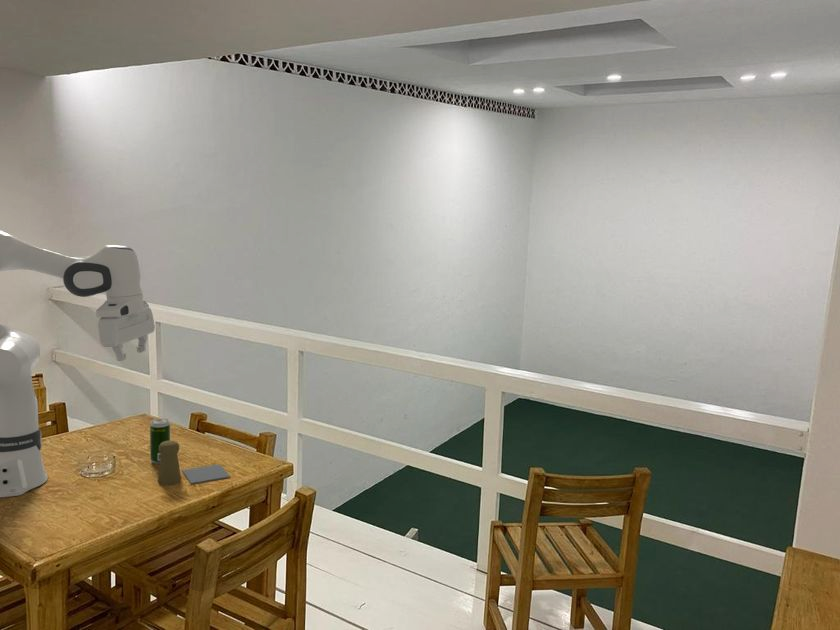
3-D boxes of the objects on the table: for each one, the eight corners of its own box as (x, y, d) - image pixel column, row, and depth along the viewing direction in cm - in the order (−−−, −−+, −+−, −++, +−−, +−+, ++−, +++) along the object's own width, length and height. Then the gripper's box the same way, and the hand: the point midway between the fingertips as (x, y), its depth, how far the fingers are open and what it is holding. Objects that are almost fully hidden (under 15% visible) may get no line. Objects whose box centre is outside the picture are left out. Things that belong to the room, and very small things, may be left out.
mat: (191, 484, 179) (191, 482, 179) (182, 471, 188) (182, 470, 188) (230, 477, 185) (230, 476, 185) (219, 465, 193) (219, 464, 193)
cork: (177, 474, 185) (177, 436, 184) (184, 482, 180) (183, 443, 179) (154, 479, 182) (154, 440, 180) (160, 486, 177) (160, 447, 175)
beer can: (173, 461, 195) (172, 422, 193) (154, 465, 191) (153, 425, 189) (166, 456, 199) (166, 417, 197) (148, 459, 195) (147, 420, 194)
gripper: (136, 299, 189) (142, 347, 191) (91, 312, 169) (98, 365, 171) (157, 299, 188) (162, 347, 190) (114, 312, 168) (120, 365, 170)
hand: (131, 356), depth 181 cm, fingers open, 8 cm apart
